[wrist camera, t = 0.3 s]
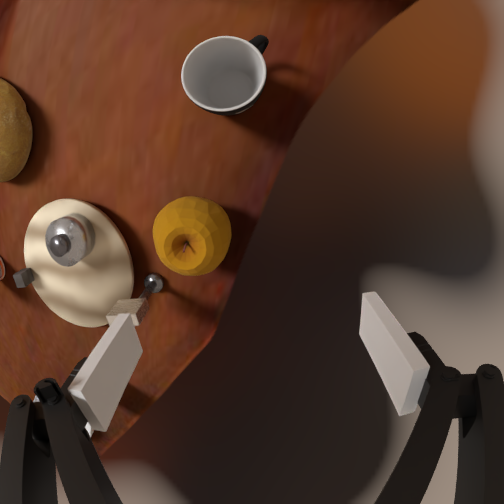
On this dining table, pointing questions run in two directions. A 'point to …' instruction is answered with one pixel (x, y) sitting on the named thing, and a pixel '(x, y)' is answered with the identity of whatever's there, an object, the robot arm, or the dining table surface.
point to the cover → (70, 239)
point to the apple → (192, 235)
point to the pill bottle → (2, 269)
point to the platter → (78, 267)
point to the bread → (13, 132)
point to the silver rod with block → (137, 301)
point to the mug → (225, 74)
